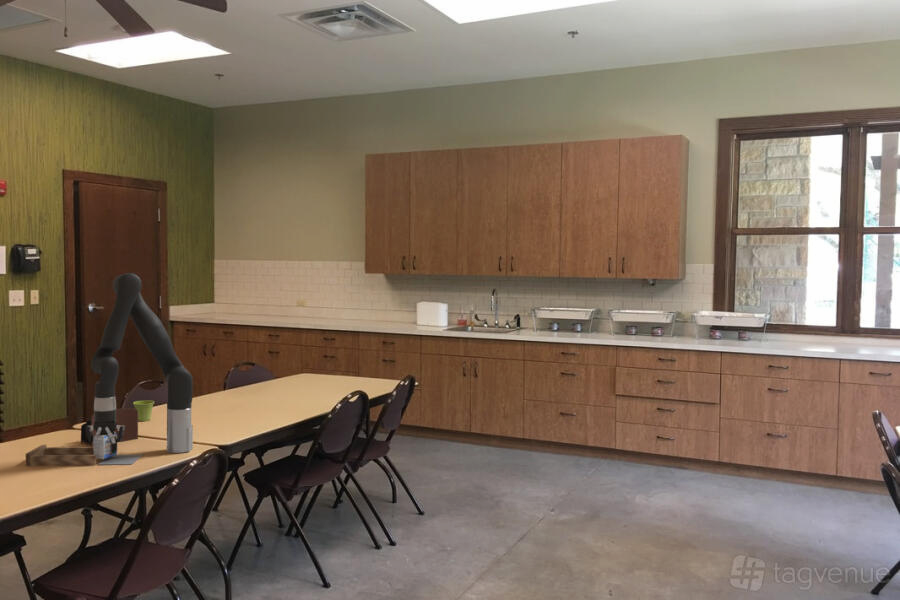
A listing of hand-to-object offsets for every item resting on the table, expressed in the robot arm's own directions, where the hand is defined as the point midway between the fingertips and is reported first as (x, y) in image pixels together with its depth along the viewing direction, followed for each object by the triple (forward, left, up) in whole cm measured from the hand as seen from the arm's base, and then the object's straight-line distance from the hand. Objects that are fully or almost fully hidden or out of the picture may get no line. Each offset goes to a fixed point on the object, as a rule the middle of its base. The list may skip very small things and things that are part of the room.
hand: (105, 452), depth 279 cm
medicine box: (0, 0, -2) cm, 2 cm away
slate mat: (-6, 0, -3) cm, 6 cm away
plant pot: (+7, -75, -3) cm, 75 cm away
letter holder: (+9, -32, -3) cm, 33 cm away
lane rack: (+13, 0, -3) cm, 14 cm away
